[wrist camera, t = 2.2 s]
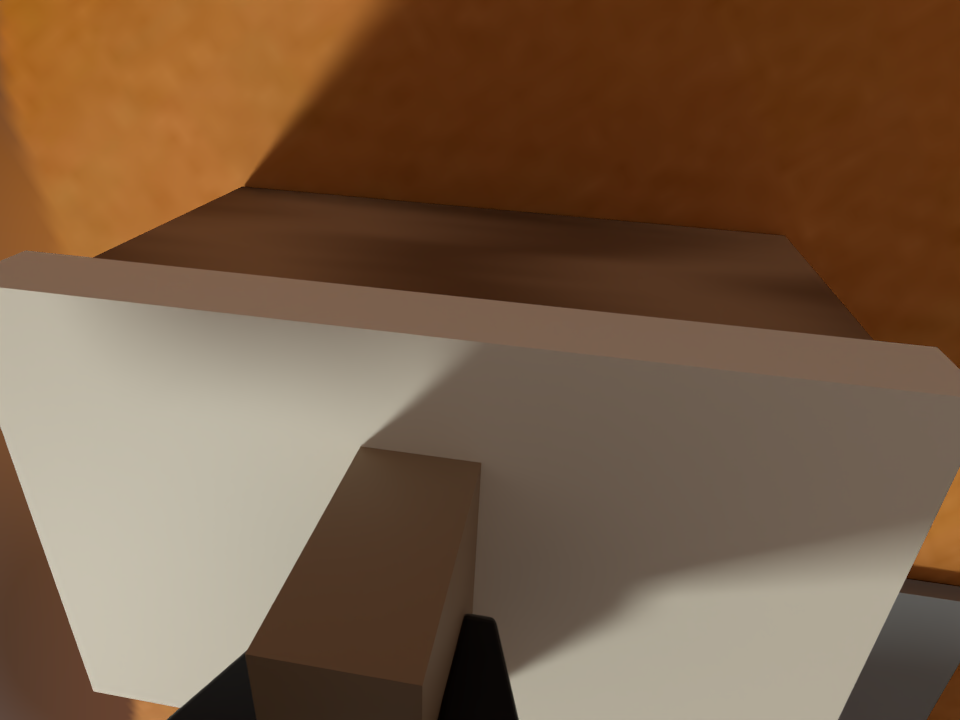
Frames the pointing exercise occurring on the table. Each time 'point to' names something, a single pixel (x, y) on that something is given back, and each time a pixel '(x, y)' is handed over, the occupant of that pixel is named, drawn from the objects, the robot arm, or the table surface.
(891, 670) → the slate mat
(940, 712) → the table surface
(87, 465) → the lid
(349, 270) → the box
